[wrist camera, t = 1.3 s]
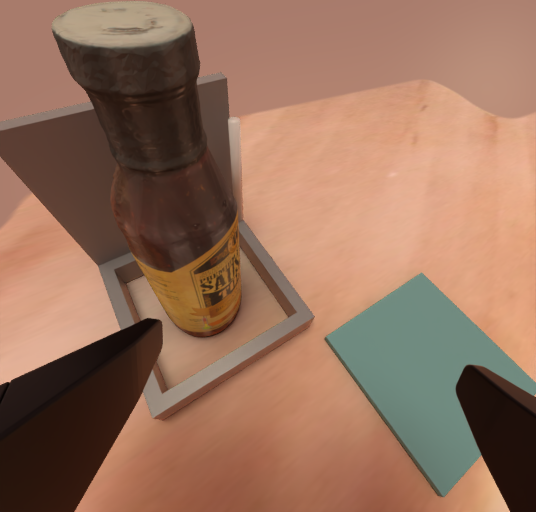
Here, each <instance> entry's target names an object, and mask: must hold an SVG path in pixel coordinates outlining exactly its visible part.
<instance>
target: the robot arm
mask: <svg viewBox="0 0 536 512" xmlns="http://www.w3.org/2000/svg"><path fill="white" fill-rule="evenodd" d="M162 344H163V333H162V322H161V321H160V320H158V319H151V318H147V319H144V320H142V321H140V322H138V323H136V324H133V325H131V326H129V327H127V328H125V329H122V330H120V331H118V332H116V333H114V334H111V335H109V336H107V337H105V338H103V339H101V340H98V341H96V342H94V343H92V344H90V345H87V346H85V347H83V348H81V349H79V350H76V351H74V352H72V353H70V354H68V355H65V356H63V357H61V358H59V359H57V360H55V361H52V362H50V363H48V364H46V365H44V366H41V367H39V368H37V369H35V370H33V371H30V372H28V373H26V374H24V375H22V376H19V377H17V378H15V379H13V380H11V382H6V383H4V384H2V385H0V512H74V511H75V510H76V508H77V506H78V504H79V503H80V501H81V499H82V498H83V496H84V494H85V492H86V491H87V489H88V487H89V485H90V484H91V482H92V480H93V478H94V477H95V475H96V473H97V472H98V470H99V468H100V466H101V465H102V463H103V461H104V459H105V458H106V456H107V454H108V453H109V451H110V449H111V447H112V446H113V444H114V442H115V440H116V439H117V437H118V435H119V433H120V432H121V430H122V428H123V427H124V425H125V423H126V421H127V420H128V418H129V416H130V414H131V413H132V411H133V409H134V408H135V406H136V404H137V402H138V400H139V398H140V396H141V394H142V392H143V390H144V388H145V385H146V383H147V381H148V379H149V376H150V374H151V372H152V370H153V367H154V365H155V363H156V361H157V358H158V356H159V354H160V352H161V349H162ZM455 389H456V395H457V397H458V400H459V402H460V405H461V407H462V410H463V412H464V415H465V417H466V420H467V422H468V424H469V427H470V429H471V432H472V434H473V437H474V439H475V442H476V444H477V446H478V448H479V451H480V453H481V455H482V457H483V459H484V461H485V463H486V465H487V467H488V469H489V471H490V473H491V475H492V477H493V479H494V481H495V483H496V485H497V487H498V489H499V491H500V492H501V494H502V496H503V498H504V500H505V502H506V504H507V506H508V508H509V510H510V512H536V397H535V396H533V395H531V394H530V393H528V392H526V391H524V390H523V389H521V388H519V387H518V386H516V385H514V384H513V383H511V382H509V381H508V380H506V379H504V378H503V377H501V376H499V375H497V374H496V373H494V372H492V371H491V370H489V369H487V368H486V367H483V366H479V365H472V364H469V365H466V366H465V367H464V369H463V371H462V373H461V375H460V377H459V380H458V382H457V384H456V388H455Z"/></svg>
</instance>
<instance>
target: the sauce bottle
mask: <svg viewBox="0 0 536 512" xmlns="http://www.w3.org/2000/svg"><path fill="white" fill-rule="evenodd" d="M52 32H53V35H54V38H55V39H56V41H57V44H58V47H59V50H60V52H61V55H62V57H63V59H64V61H65V63H66V65H67V68H68V70H69V72H70V74H71V76H72V77H73V79H74V80H75V81H76V82H77V83H78V84H79V85H80V86H81V87H82V88H83V89H84V90H85V91H86V93H87V94H88V96H89V98H90V100H91V103H92V105H93V107H94V110H95V112H96V114H97V117H98V120H99V122H100V125H101V127H102V128H103V131H104V132H105V134H106V137H107V140H108V142H109V148H110V151H111V154H112V156H113V157H114V158H115V160H116V161H117V166H116V169H115V172H114V174H113V178H114V179H113V182H112V187H111V196H110V202H111V207H112V211H113V215H114V218H115V220H116V222H117V225H118V227H119V228H120V230H121V232H122V233H123V235H124V236H125V238H126V240H127V244H128V247H129V249H130V251H131V253H132V255H133V256H134V258H135V260H136V261H137V263H138V265H139V267H140V268H141V270H142V272H143V273H144V275H145V277H146V278H147V280H148V282H149V284H150V285H151V287H152V289H153V291H154V292H155V294H156V296H157V297H158V299H159V301H160V303H161V305H162V306H163V308H164V309H165V311H166V313H167V315H168V316H169V318H170V319H171V320H172V321H173V322H174V323H175V325H176V326H178V327H179V328H180V329H181V330H183V331H184V332H186V333H188V334H190V335H193V336H198V337H204V336H211V335H214V334H216V333H219V332H221V331H222V330H224V329H225V328H226V327H227V326H228V325H229V324H230V323H231V322H232V320H233V319H234V318H235V316H236V313H237V312H238V310H239V305H240V301H241V275H240V248H239V247H240V246H239V225H238V206H237V201H236V199H235V197H234V196H233V194H232V192H231V190H230V188H229V186H228V184H227V182H226V180H225V178H224V177H223V175H222V173H221V171H220V169H219V167H218V165H217V163H216V161H215V159H214V157H213V156H212V154H211V152H210V150H209V148H208V146H207V140H208V139H207V136H206V133H205V131H204V129H203V124H202V118H201V110H200V101H199V94H198V89H197V77H198V75H199V69H200V61H199V56H198V51H197V45H196V39H195V31H194V27H193V24H192V22H191V20H190V18H189V17H188V16H186V15H185V14H183V13H182V12H180V11H179V10H176V9H175V8H172V7H170V6H167V5H163V4H158V3H153V2H142V1H126V2H107V3H95V4H91V5H86V6H82V7H78V8H75V9H71V10H68V11H67V12H65V13H63V14H62V15H59V16H57V17H56V18H55V19H54V21H53V23H52Z"/></svg>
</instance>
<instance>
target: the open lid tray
mask: <svg viewBox="0 0 536 512" xmlns="http://www.w3.org/2000/svg"><path fill="white" fill-rule="evenodd" d="M197 89H198V94H199V101H200V110H201V118H202V124H203V129H204V131H205V133H206V136H207V139H208V140H207V146H208V148H209V150H210V152H211V154H212V156H213V157H214V159H215V161H216V163H217V165H218V167H219V169H220V171H221V173H222V175H223V177H224V178H225V180H226V182H227V184H228V186H229V188H230V190H231V192H232V194H233V196H234V197H235V199H236V201H237V206H238V225H239V246H240V247H241V249H242V250H243V251H244V253H245V254H246V256H247V257H248V259H249V260H250V262H251V263H252V264H253V266H254V267H255V269H256V270H257V272H258V273H259V275H260V276H261V278H262V279H263V280H264V282H265V283H266V285H267V286H268V288H269V289H270V291H271V292H272V293H273V295H274V296H275V298H276V299H277V301H278V302H279V304H280V305H281V307H282V308H283V309H284V311H285V312H286V314H287V315H288V317H289V318H287V319H285V320H284V321H282V322H280V323H279V324H277V325H275V326H274V327H272V328H270V329H269V330H267V331H265V332H264V333H262V334H261V335H259V336H257V337H256V338H254V339H252V340H251V341H249V342H247V343H246V344H244V345H242V346H241V347H239V348H237V349H236V350H234V351H232V352H231V353H229V354H227V355H226V356H224V357H222V358H221V359H219V360H218V361H216V362H214V363H213V364H211V365H209V366H208V367H206V368H204V369H203V370H201V371H199V372H198V373H196V374H194V375H193V376H191V377H189V378H188V379H186V380H184V381H183V382H181V383H180V384H178V385H176V386H175V387H173V388H171V389H170V390H168V389H167V387H166V384H165V382H164V379H163V377H162V374H161V372H160V369H159V367H158V364H157V362H156V363H155V365H154V367H153V370H152V372H151V374H150V376H149V379H148V381H147V383H146V385H145V388H144V390H143V393H144V396H145V399H146V402H147V405H148V407H149V410H150V413H151V416H152V418H153V419H159V420H164V419H166V418H167V417H169V416H170V415H172V414H173V413H175V412H176V411H178V410H180V409H181V408H183V407H184V406H186V405H187V404H189V403H191V402H192V401H194V400H195V399H197V398H198V397H200V396H202V395H203V394H205V393H206V392H208V391H209V390H211V389H213V388H214V387H216V386H217V385H219V384H220V383H222V382H224V381H225V380H227V379H228V378H230V377H231V376H233V375H234V374H236V373H238V372H239V371H241V370H242V369H244V368H245V367H247V366H249V365H250V364H252V363H253V362H255V361H256V360H258V359H260V358H261V357H263V356H264V355H266V354H267V353H269V352H271V351H272V350H274V349H275V348H277V347H278V346H280V345H282V344H283V343H285V342H286V341H288V340H289V339H291V338H292V337H294V336H296V335H297V334H299V333H300V332H302V331H303V330H305V329H307V328H308V327H309V326H310V324H311V322H312V321H313V319H314V317H315V316H314V315H313V313H312V312H311V311H310V309H309V308H308V307H307V305H306V304H305V303H304V301H303V300H302V299H301V297H300V296H299V295H298V293H297V292H296V290H295V289H294V288H293V286H292V285H291V284H290V282H289V281H288V280H287V278H286V277H285V276H284V274H283V273H282V272H281V270H280V269H279V268H278V266H277V265H276V263H275V262H274V261H273V259H272V258H271V257H270V255H269V254H268V253H267V251H266V250H265V249H264V247H263V246H262V245H261V243H260V242H259V241H258V239H257V238H256V236H255V235H254V234H253V232H252V231H251V230H250V228H249V227H248V226H247V224H246V223H245V222H244V220H243V199H242V166H241V133H240V119H239V118H238V117H230V118H229V104H228V88H227V78H226V77H225V76H224V75H223V74H222V73H217V74H212V75H207V76H203V77H198V78H197ZM0 157H1V158H2V159H3V160H4V161H5V162H6V163H7V165H8V166H9V167H10V168H11V169H12V170H13V171H14V172H15V173H16V175H17V176H18V177H19V178H20V179H21V180H22V181H23V182H24V184H26V186H27V187H28V188H29V189H30V190H31V191H32V193H33V194H34V195H35V196H36V197H37V198H38V199H39V200H40V201H41V203H42V204H43V205H44V206H45V207H46V208H47V209H48V210H49V212H50V213H51V214H52V215H53V216H54V217H55V218H56V219H57V221H58V222H59V223H60V224H61V225H62V226H63V227H64V228H65V229H66V231H67V232H68V233H69V234H70V235H71V236H72V237H73V238H74V240H75V241H76V242H77V243H78V244H79V245H80V246H81V247H82V248H83V250H84V251H85V252H86V253H87V254H88V255H89V256H90V257H91V259H92V260H93V261H94V262H95V263H96V264H97V265H98V267H99V270H100V273H101V276H102V278H103V281H104V284H105V287H106V290H107V292H108V295H109V298H110V301H111V304H112V306H113V309H114V312H115V315H116V318H117V320H118V323H119V326H120V329H121V330H122V329H125V328H127V327H129V326H131V325H133V324H136V323H138V322H140V319H139V317H138V314H137V312H136V309H135V307H134V304H133V302H132V299H131V297H130V294H129V292H128V289H127V287H126V284H125V283H127V282H129V281H132V280H134V279H136V278H138V277H141V276H143V275H144V273H143V272H142V270H141V268H140V267H139V265H138V263H137V261H136V260H135V258H134V256H133V255H132V253H131V251H130V249H129V247H128V244H127V240H126V238H125V236H124V235H123V233H122V232H121V230H120V228H119V227H118V225H117V222H116V220H115V218H114V215H113V211H112V207H111V202H110V196H111V187H112V182H113V179H114V178H113V174H114V172H115V169H116V166H117V161H116V160H115V158H114V157H113V156H112V154H111V151H110V148H109V142H108V140H107V137H106V134H105V132H104V131H103V128H102V127H101V125H100V122H99V120H98V117H97V114H96V112H95V110H94V107H93V105H92V103H91V102H87V103H82V104H78V105H73V106H69V107H65V108H60V109H56V110H51V111H46V112H42V113H37V114H33V115H28V116H24V117H19V118H15V119H11V120H6V121H2V122H0Z"/></svg>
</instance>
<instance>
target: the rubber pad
mask: <svg viewBox="0 0 536 512" xmlns="http://www.w3.org/2000/svg"><path fill="white" fill-rule="evenodd" d="M325 340H326V342H327V343H328V345H329V346H330V347H331V349H332V350H333V351H334V353H335V354H336V356H337V357H338V358H339V360H340V361H341V362H342V364H343V365H344V367H345V368H346V369H347V371H348V372H349V373H350V375H351V376H352V378H353V379H354V380H355V382H356V383H357V384H358V386H359V387H360V388H361V390H362V391H363V393H364V394H365V395H366V397H367V398H368V399H369V401H370V402H371V404H372V405H373V406H374V408H375V409H376V410H377V412H378V413H379V415H380V416H381V417H382V419H383V420H384V421H385V423H386V424H387V426H388V427H389V428H390V430H391V431H392V432H393V434H394V435H395V437H396V438H397V439H398V441H399V442H400V443H401V445H402V446H403V448H404V449H405V450H406V452H407V453H408V454H409V456H410V457H411V459H412V460H413V461H414V463H415V464H416V465H417V467H418V468H419V470H420V471H421V472H422V474H423V475H424V476H425V478H426V479H427V481H428V482H429V483H430V485H431V486H432V487H433V489H434V490H435V492H436V493H437V494H438V496H441V497H444V496H445V495H446V494H447V493H448V492H449V491H450V490H451V489H452V487H453V486H454V485H455V484H456V483H457V482H458V481H459V480H460V478H461V477H462V476H463V475H464V474H465V473H466V472H467V471H468V469H469V468H470V467H471V466H472V465H473V464H474V463H475V462H476V461H477V459H478V458H479V457H480V456H481V453H480V451H479V448H478V446H477V444H476V442H475V439H474V437H473V434H472V432H471V429H470V427H469V424H468V422H467V420H466V417H465V415H464V412H463V410H462V407H461V405H460V402H459V400H458V397H457V395H456V389H455V388H456V384H457V382H458V380H459V377H460V375H461V373H462V371H463V369H464V367H465V366H466V365H469V364H472V365H479V366H483V367H486V368H487V369H489V370H491V371H492V372H494V373H496V374H497V375H499V376H501V377H503V378H504V379H506V380H508V381H509V382H511V383H513V384H514V385H516V386H518V387H519V388H521V389H523V390H524V391H526V392H528V393H530V394H531V395H533V396H534V395H535V394H536V383H535V382H534V381H533V380H532V379H531V378H530V377H529V376H528V375H527V374H526V373H525V372H524V371H523V370H522V369H521V368H520V367H519V366H518V365H517V364H516V363H515V362H514V361H513V360H512V359H511V358H510V357H509V356H507V355H506V354H505V353H504V352H503V351H502V350H501V349H500V348H499V347H498V346H497V345H496V344H495V343H494V342H493V341H492V340H491V339H490V338H489V337H488V336H487V335H486V334H485V333H484V332H483V331H482V330H481V329H480V328H479V327H477V326H476V325H475V324H474V323H473V322H472V321H471V320H470V319H469V318H468V317H467V316H466V315H465V314H464V313H463V312H462V311H461V310H460V309H459V308H458V307H457V306H456V305H455V304H454V303H453V302H452V301H451V300H450V299H448V298H447V297H446V296H445V295H444V294H443V293H442V292H441V291H440V290H439V289H438V288H437V287H436V286H435V285H434V284H433V283H432V282H431V281H430V280H429V279H428V278H427V277H426V276H425V275H424V274H423V273H420V274H419V275H417V276H416V277H414V278H413V279H411V280H410V281H408V282H407V283H405V284H404V285H402V286H401V287H399V288H398V289H396V290H395V291H393V292H392V293H390V294H389V295H387V296H386V297H384V298H383V299H381V300H380V301H378V302H377V303H376V304H374V305H373V306H371V307H370V308H368V309H367V310H365V311H364V312H362V313H361V314H359V315H358V316H356V317H355V318H353V319H352V320H350V321H349V322H347V323H346V324H344V325H343V326H341V327H340V328H338V329H337V330H335V331H334V332H332V333H331V334H329V335H328V336H326V337H325Z"/></svg>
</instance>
